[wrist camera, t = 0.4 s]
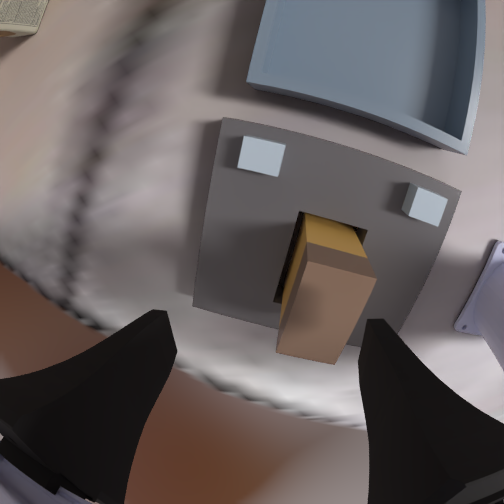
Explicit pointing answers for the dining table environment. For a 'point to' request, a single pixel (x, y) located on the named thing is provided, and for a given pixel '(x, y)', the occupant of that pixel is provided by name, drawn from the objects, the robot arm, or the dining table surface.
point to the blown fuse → (323, 290)
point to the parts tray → (379, 61)
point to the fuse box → (317, 203)
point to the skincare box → (20, 17)
